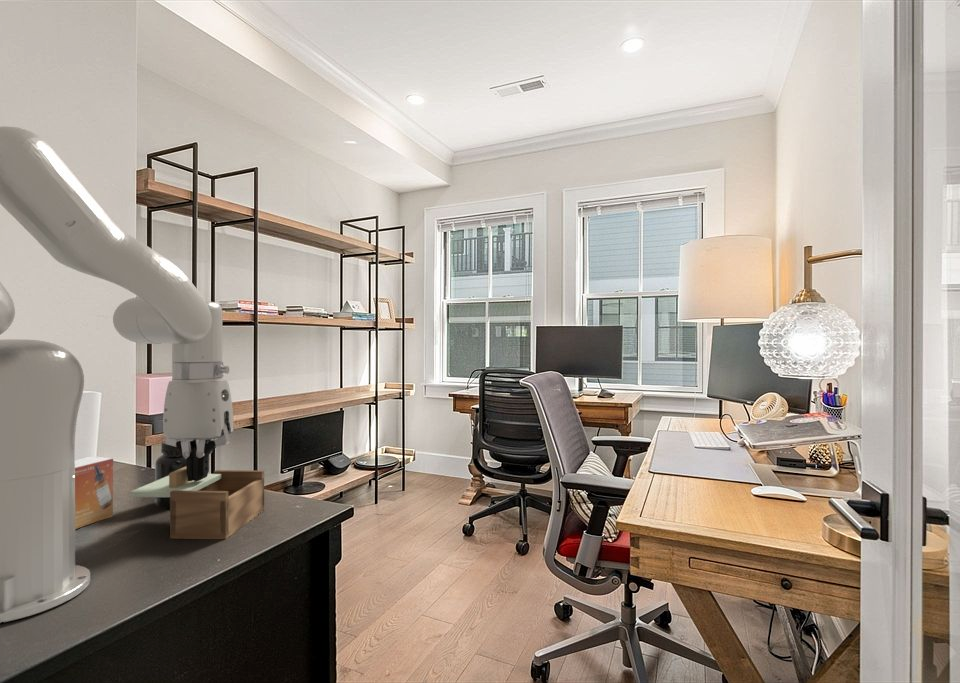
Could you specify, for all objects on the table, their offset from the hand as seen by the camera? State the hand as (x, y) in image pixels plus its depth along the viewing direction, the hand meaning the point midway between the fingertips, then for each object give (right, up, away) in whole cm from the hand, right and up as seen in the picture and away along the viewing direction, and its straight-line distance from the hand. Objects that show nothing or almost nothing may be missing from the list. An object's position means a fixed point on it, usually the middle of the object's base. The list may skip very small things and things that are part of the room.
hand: (197, 478), depth 84 cm
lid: (-3, -1, 0) cm, 4 cm away
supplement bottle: (-10, -8, +10) cm, 17 cm away
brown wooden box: (+4, -8, 0) cm, 9 cm away
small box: (-20, -8, 0) cm, 22 cm away
